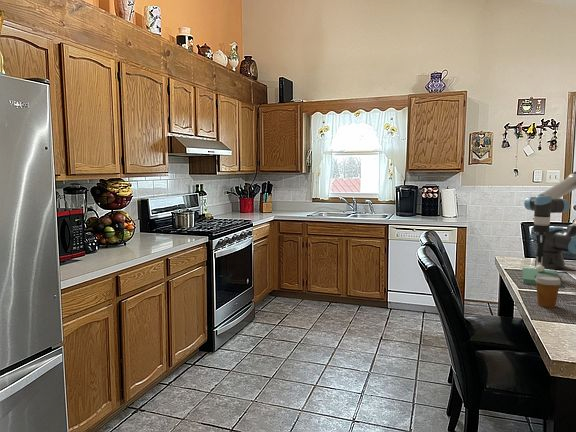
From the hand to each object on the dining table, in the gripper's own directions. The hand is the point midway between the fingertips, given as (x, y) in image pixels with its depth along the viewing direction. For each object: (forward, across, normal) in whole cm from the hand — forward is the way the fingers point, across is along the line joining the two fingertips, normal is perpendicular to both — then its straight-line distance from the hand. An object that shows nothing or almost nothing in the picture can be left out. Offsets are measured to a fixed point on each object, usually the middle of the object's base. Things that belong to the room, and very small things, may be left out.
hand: (538, 268), depth 234 cm
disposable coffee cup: (+5, +56, +1) cm, 56 cm away
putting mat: (+4, +9, +1) cm, 10 cm away
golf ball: (0, +3, 0) cm, 3 cm away
